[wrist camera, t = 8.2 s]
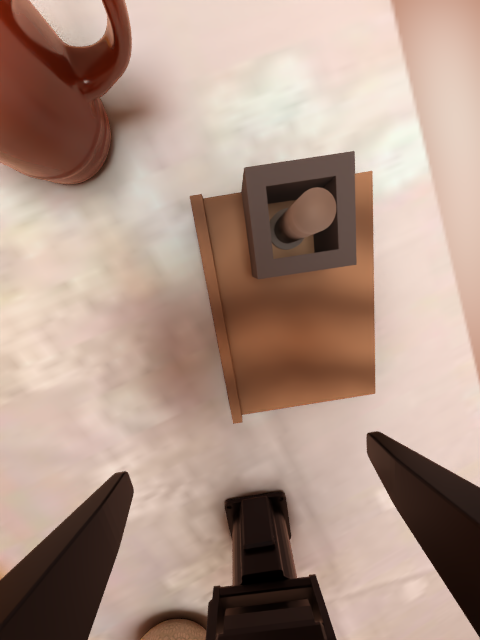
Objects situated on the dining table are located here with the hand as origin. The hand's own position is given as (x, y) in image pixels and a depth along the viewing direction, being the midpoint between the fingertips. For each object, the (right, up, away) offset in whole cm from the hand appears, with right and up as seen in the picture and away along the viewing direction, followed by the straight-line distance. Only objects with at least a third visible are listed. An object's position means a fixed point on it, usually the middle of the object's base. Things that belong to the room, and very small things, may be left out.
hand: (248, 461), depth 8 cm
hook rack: (+4, +6, +11) cm, 13 cm away
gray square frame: (+3, +12, +8) cm, 15 cm away
